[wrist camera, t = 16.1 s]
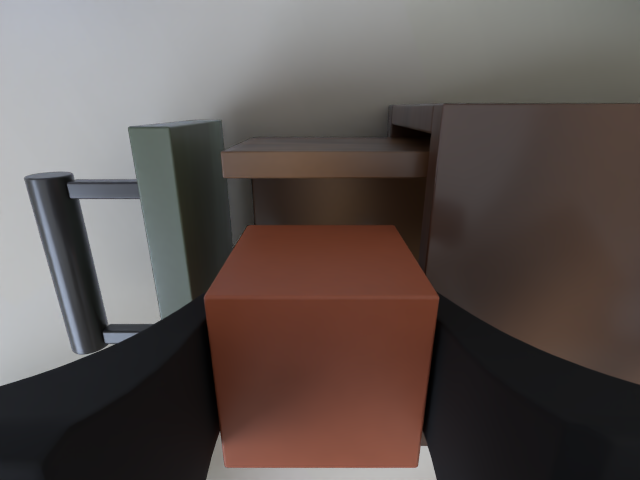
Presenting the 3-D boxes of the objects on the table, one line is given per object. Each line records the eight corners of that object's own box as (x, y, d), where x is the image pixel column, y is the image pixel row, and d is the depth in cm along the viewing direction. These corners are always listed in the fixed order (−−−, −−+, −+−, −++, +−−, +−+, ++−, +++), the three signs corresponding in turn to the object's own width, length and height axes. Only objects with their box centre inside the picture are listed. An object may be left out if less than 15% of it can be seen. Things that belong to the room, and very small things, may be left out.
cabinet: (375, 326, 20) (405, 446, 13) (388, 105, 16) (443, 103, 9) (619, 326, 20) (782, 446, 13) (692, 105, 16) (983, 103, 9)
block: (256, 347, 13) (223, 469, 9) (247, 224, 11) (202, 296, 7) (385, 347, 13) (418, 469, 9) (394, 224, 11) (440, 296, 7)
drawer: (128, 327, 19) (52, 414, 14) (84, 119, 16) (-41, 126, 10) (453, 326, 19) (506, 413, 14) (484, 119, 16) (572, 126, 10)
